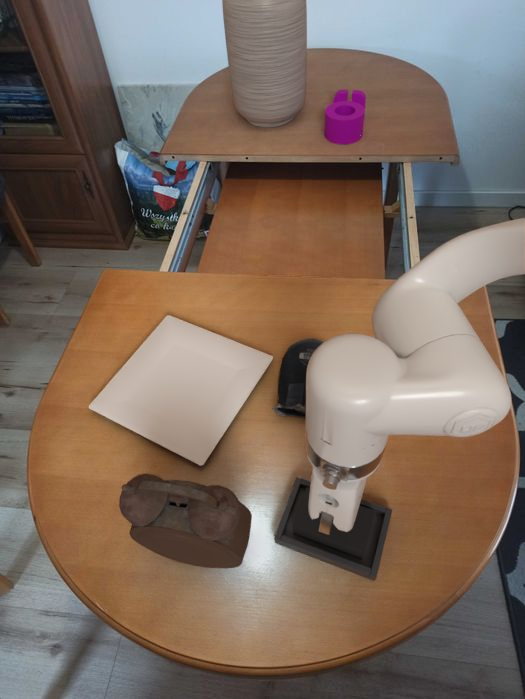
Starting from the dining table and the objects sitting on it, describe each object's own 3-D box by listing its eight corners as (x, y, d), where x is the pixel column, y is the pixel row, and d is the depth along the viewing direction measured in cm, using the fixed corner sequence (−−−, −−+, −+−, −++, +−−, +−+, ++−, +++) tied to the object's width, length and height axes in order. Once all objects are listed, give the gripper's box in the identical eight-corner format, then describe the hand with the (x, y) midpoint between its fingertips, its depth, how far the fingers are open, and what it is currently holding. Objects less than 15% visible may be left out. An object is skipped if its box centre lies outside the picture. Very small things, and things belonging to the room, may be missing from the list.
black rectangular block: (372, 519, 67) (375, 510, 64) (362, 559, 64) (365, 551, 61) (306, 496, 70) (306, 486, 67) (293, 533, 67) (292, 525, 64)
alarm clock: (260, 526, 68) (246, 463, 53) (248, 582, 64) (230, 532, 48) (161, 507, 71) (120, 442, 55) (143, 560, 67) (93, 505, 51)
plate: (274, 363, 85) (274, 355, 84) (204, 471, 74) (201, 465, 72) (169, 320, 93) (167, 313, 91) (91, 413, 82) (86, 406, 80)
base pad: (390, 514, 68) (392, 509, 66) (374, 581, 63) (376, 577, 61) (296, 482, 72) (296, 476, 70) (274, 543, 67) (274, 538, 65)
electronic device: (333, 426, 79) (341, 345, 86) (329, 412, 74) (337, 327, 81) (276, 422, 81) (288, 344, 88) (269, 408, 77) (282, 327, 84)
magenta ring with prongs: (360, 145, 126) (362, 121, 121) (321, 143, 128) (322, 119, 123) (367, 114, 135) (369, 90, 130) (331, 112, 137) (332, 89, 132)
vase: (253, 93, 147) (242, -48, 121) (317, 103, 141) (320, -43, 114) (221, 126, 136) (202, -20, 110) (289, 138, 130) (285, -14, 104)
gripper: (363, 527, 42) (348, 580, 56) (401, 388, 50) (378, 465, 65) (280, 497, 44) (286, 556, 58) (329, 368, 52) (323, 448, 67)
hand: (334, 508), depth 62 cm, fingers closed
